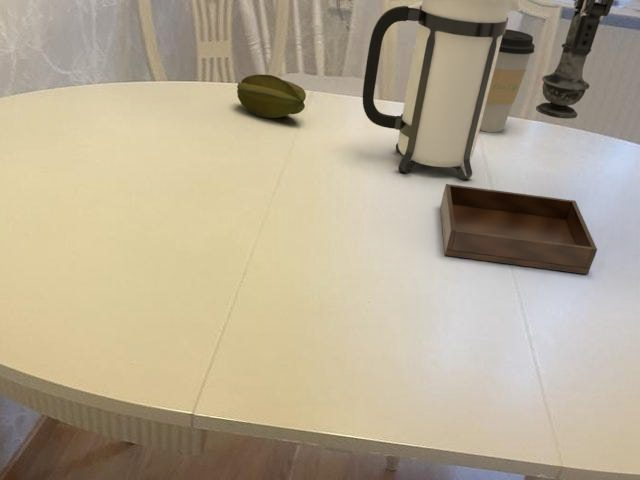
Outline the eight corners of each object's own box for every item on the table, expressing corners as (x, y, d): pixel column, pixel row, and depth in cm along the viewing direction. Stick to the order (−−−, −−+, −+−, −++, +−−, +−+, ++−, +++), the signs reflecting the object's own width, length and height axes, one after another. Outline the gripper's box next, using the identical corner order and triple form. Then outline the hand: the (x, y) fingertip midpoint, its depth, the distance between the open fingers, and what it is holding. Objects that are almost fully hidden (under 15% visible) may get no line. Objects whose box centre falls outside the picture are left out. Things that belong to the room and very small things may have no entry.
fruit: (298, 107, 137) (302, 67, 133) (304, 129, 128) (308, 87, 124) (235, 103, 136) (237, 62, 132) (237, 124, 127) (238, 81, 123)
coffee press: (427, 142, 129) (471, -75, 109) (497, 174, 120) (560, -56, 100) (350, 155, 120) (382, -76, 100) (420, 191, 111) (471, -56, 91)
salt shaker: (584, 112, 98) (620, 5, 90) (572, 122, 94) (609, 11, 86) (541, 102, 100) (572, -4, 92) (527, 111, 96) (559, 1, 88)
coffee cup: (492, 138, 133) (517, 42, 123) (450, 123, 138) (471, 29, 128) (522, 130, 138) (548, 38, 128) (480, 116, 143) (502, 25, 133)
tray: (567, 223, 106) (575, 200, 104) (587, 274, 94) (597, 249, 92) (440, 206, 107) (445, 183, 105) (444, 255, 95) (450, 230, 93)
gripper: (684, -122, 75) (618, 68, 87) (652, -129, 86) (596, 41, 97) (609, -131, 76) (552, 59, 87) (586, -137, 86) (538, 34, 98)
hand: (576, 49), depth 92 cm, fingers closed on salt shaker, 3 cm apart
